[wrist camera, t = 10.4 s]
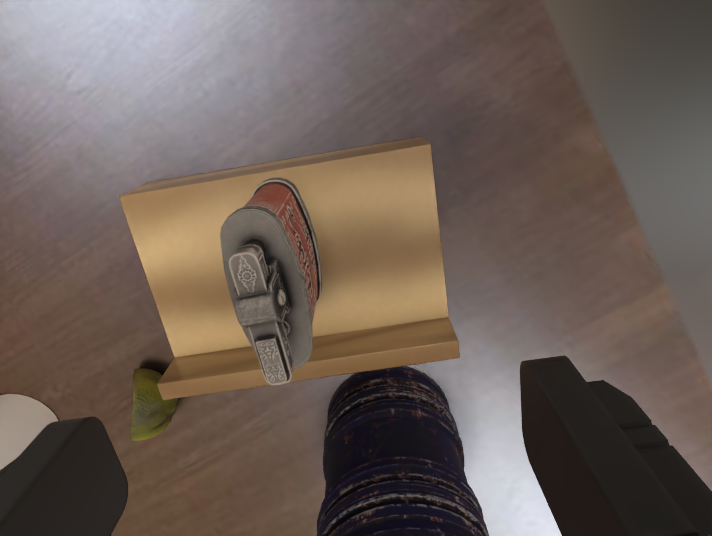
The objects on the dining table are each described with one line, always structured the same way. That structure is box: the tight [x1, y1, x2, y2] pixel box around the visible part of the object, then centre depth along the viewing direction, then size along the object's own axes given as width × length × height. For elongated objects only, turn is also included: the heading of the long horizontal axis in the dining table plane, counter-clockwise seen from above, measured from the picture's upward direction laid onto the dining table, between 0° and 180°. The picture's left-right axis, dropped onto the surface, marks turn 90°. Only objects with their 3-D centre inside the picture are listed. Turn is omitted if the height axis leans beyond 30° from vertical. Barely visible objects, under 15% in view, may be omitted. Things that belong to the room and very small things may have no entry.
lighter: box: [220, 177, 322, 385], centre depth 24 cm, size 8×3×10 cm, turn 11°
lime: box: [130, 368, 177, 441], centre depth 34 cm, size 4×5×5 cm
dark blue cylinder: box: [317, 366, 489, 536], centre depth 31 cm, size 10×10×15 cm
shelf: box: [119, 137, 460, 400], centre depth 29 cm, size 12×18×7 cm, turn 99°
